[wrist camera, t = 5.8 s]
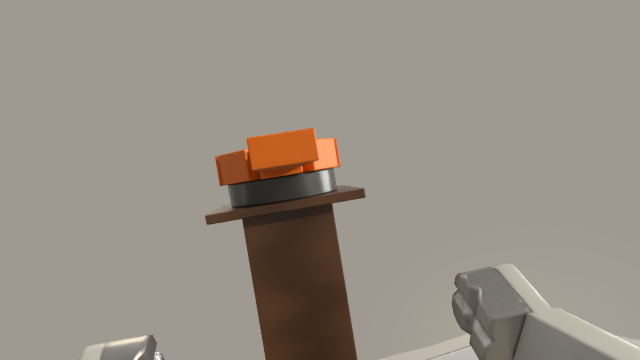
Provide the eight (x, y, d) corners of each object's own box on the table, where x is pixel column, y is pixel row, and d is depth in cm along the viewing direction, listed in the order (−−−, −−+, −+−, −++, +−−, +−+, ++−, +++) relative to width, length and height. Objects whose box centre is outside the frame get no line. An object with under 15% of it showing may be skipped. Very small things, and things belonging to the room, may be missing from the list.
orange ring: (169, 195, 14) (160, 139, 14) (229, 184, 32) (225, 160, 32) (398, 158, 15) (390, 105, 15) (330, 167, 33) (326, 144, 33)
